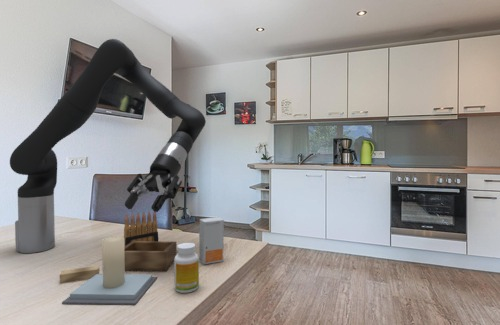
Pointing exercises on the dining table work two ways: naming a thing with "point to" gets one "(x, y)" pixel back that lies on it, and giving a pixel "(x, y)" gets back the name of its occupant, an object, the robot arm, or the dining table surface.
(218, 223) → the skincare box
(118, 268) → the lid
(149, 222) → the ammunition clip
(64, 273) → the wooden block
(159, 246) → the wooden box
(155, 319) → the dining table surface
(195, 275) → the supplement bottle
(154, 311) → the dining table surface
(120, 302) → the mat
